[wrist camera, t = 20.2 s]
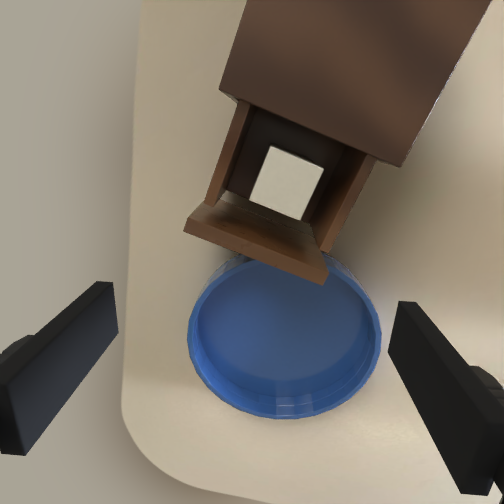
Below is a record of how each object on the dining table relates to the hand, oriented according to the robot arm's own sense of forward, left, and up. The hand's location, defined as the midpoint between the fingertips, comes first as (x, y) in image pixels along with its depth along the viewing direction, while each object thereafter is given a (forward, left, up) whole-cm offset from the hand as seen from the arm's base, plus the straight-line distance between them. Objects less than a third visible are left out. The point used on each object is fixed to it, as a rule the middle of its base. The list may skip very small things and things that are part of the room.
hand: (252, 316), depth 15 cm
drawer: (0, +5, -19) cm, 19 cm away
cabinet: (0, +16, -20) cm, 25 cm away
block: (0, +5, -18) cm, 18 cm away
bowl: (+7, -11, -20) cm, 24 cm away
